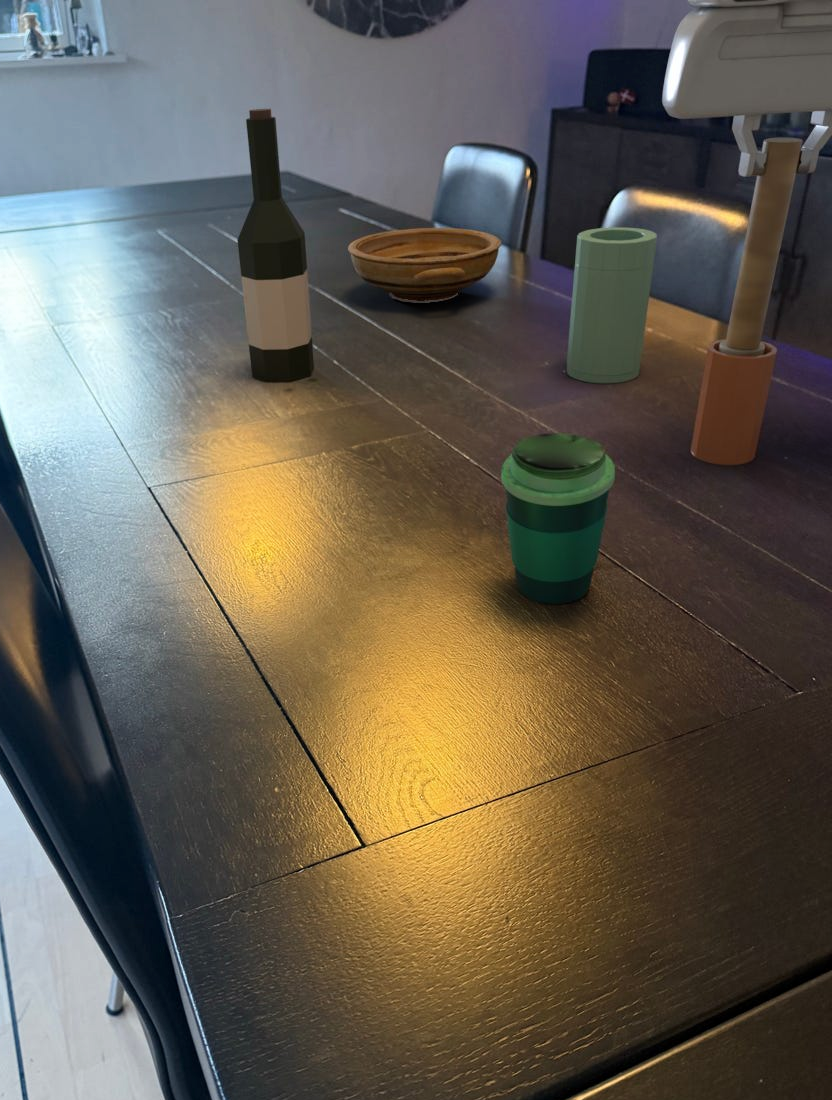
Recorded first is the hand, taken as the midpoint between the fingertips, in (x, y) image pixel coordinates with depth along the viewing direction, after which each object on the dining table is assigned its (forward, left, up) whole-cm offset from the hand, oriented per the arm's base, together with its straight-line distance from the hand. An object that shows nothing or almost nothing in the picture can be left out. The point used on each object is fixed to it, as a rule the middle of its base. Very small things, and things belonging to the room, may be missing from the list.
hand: (775, 174), depth 78 cm
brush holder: (0, 0, -26) cm, 26 cm away
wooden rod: (0, 0, -19) cm, 19 cm away
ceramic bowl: (+21, -71, -26) cm, 78 cm away
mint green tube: (+4, -28, -26) cm, 38 cm away
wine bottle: (+44, -36, -26) cm, 62 cm away
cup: (+23, +23, -26) cm, 42 cm away
